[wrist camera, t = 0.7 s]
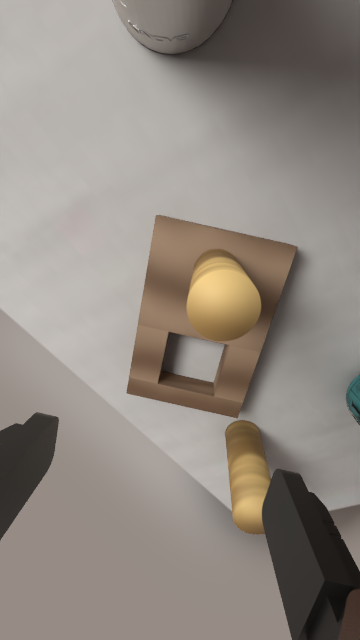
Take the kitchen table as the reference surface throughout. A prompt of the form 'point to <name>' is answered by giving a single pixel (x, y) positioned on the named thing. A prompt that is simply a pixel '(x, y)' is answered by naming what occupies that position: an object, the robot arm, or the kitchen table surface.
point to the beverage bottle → (354, 398)
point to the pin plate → (176, 320)
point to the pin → (247, 475)
